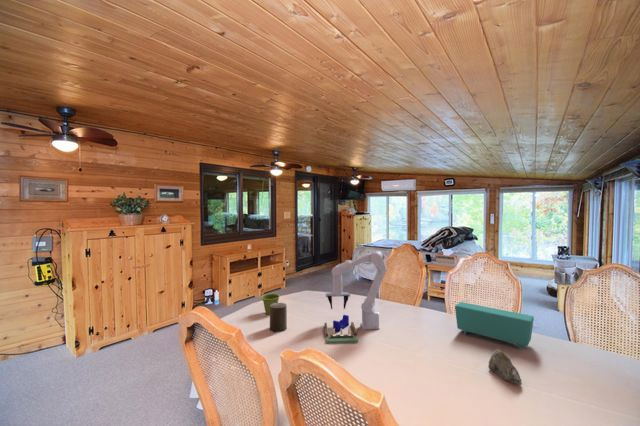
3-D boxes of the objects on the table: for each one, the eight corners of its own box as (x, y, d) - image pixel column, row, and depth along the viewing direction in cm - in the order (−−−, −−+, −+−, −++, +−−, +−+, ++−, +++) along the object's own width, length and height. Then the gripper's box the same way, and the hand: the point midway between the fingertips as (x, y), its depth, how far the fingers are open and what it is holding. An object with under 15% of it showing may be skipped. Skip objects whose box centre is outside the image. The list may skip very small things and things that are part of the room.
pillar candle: (275, 333, 162) (275, 306, 162) (266, 328, 169) (266, 302, 169) (290, 329, 168) (290, 303, 168) (280, 324, 176) (280, 299, 175)
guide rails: (353, 325, 172) (353, 322, 172) (356, 336, 157) (356, 333, 157) (324, 326, 171) (324, 322, 171) (325, 337, 156) (325, 333, 156)
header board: (356, 337, 156) (356, 328, 156) (358, 342, 150) (358, 333, 150) (326, 338, 155) (326, 328, 155) (326, 343, 149) (326, 333, 149)
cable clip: (342, 324, 174) (342, 314, 174) (348, 325, 172) (348, 315, 172) (330, 331, 165) (330, 320, 165) (337, 333, 162) (337, 322, 162)
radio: (534, 345, 144) (534, 315, 144) (531, 353, 137) (530, 321, 136) (460, 327, 167) (460, 300, 167) (454, 332, 160) (454, 305, 159)
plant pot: (259, 311, 196) (259, 295, 196) (277, 309, 201) (276, 292, 201) (264, 317, 186) (264, 300, 185) (282, 314, 191) (282, 297, 190)
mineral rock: (522, 390, 109) (522, 363, 109) (489, 382, 114) (489, 357, 114) (518, 372, 121) (518, 348, 121) (488, 366, 126) (488, 343, 126)
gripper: (349, 283, 180) (349, 305, 180) (325, 284, 179) (325, 306, 180) (350, 287, 173) (350, 309, 173) (325, 287, 172) (326, 310, 173)
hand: (338, 308), depth 176 cm, fingers open, 7 cm apart
